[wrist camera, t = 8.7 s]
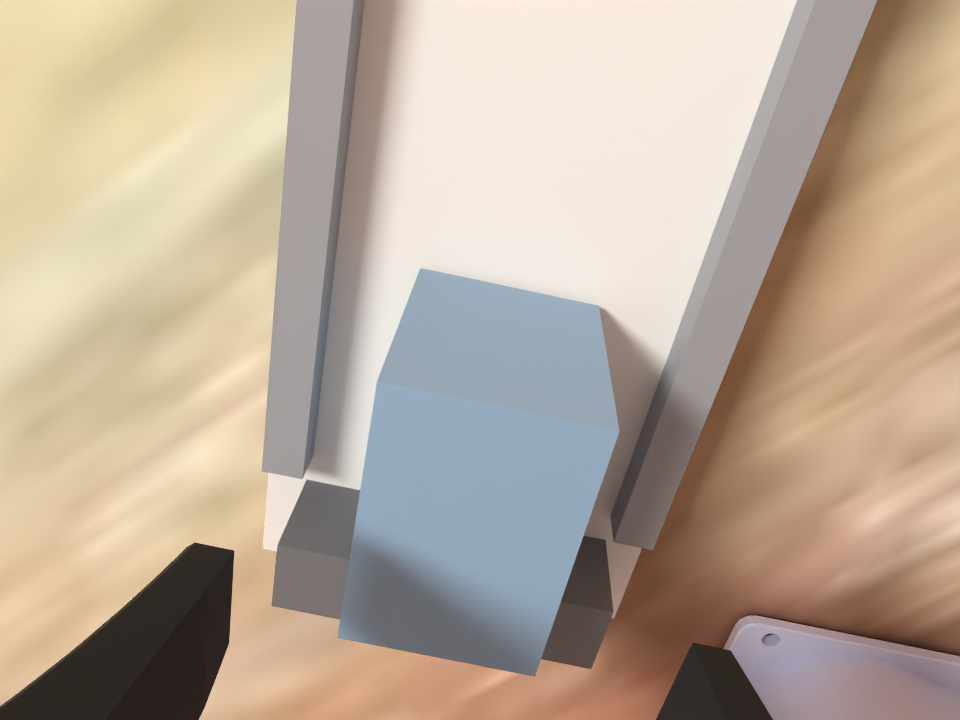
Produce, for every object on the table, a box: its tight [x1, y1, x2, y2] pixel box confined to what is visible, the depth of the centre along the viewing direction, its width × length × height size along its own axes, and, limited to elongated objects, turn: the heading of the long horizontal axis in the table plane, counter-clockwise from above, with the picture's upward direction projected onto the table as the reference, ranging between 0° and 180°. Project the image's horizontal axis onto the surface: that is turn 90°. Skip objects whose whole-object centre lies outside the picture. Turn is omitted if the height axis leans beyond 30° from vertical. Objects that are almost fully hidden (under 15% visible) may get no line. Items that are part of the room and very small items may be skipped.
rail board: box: [262, 0, 877, 669], centre depth 15 cm, size 10×23×4 cm, turn 169°
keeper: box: [337, 268, 620, 676], centre depth 16 cm, size 4×6×5 cm, turn 169°
